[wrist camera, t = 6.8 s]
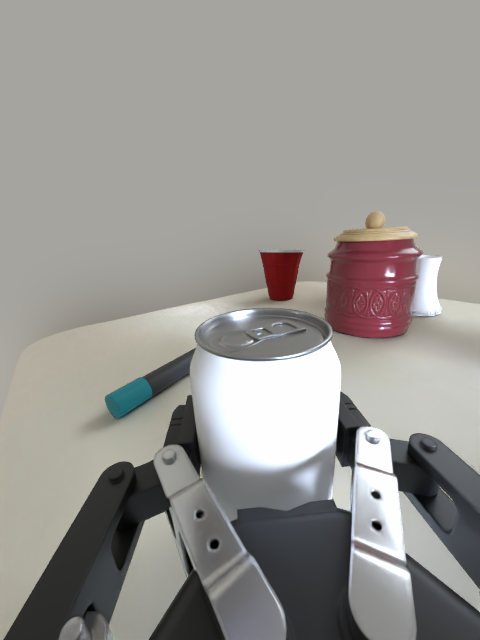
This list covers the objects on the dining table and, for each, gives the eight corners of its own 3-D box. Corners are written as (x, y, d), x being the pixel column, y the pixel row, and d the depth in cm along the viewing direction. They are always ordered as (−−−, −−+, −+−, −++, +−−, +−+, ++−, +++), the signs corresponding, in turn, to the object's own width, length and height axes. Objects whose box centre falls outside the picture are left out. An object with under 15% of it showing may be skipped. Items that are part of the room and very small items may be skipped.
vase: (384, 306, 51) (391, 256, 48) (419, 303, 52) (428, 253, 49) (411, 318, 44) (421, 260, 41) (451, 314, 45) (464, 256, 42)
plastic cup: (312, 296, 63) (314, 246, 59) (285, 305, 56) (285, 250, 52) (278, 291, 71) (278, 246, 67) (251, 298, 64) (249, 250, 60)
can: (197, 499, 16) (169, 320, 12) (283, 458, 18) (282, 299, 15) (241, 637, 10) (215, 387, 7) (355, 551, 13) (385, 334, 9)
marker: (211, 357, 36) (204, 342, 36) (222, 352, 34) (214, 337, 34) (113, 419, 24) (101, 397, 24) (123, 417, 23) (110, 393, 23)
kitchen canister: (361, 346, 35) (375, 208, 29) (309, 319, 47) (312, 217, 41) (430, 330, 39) (455, 205, 33) (366, 309, 50) (376, 214, 45)
